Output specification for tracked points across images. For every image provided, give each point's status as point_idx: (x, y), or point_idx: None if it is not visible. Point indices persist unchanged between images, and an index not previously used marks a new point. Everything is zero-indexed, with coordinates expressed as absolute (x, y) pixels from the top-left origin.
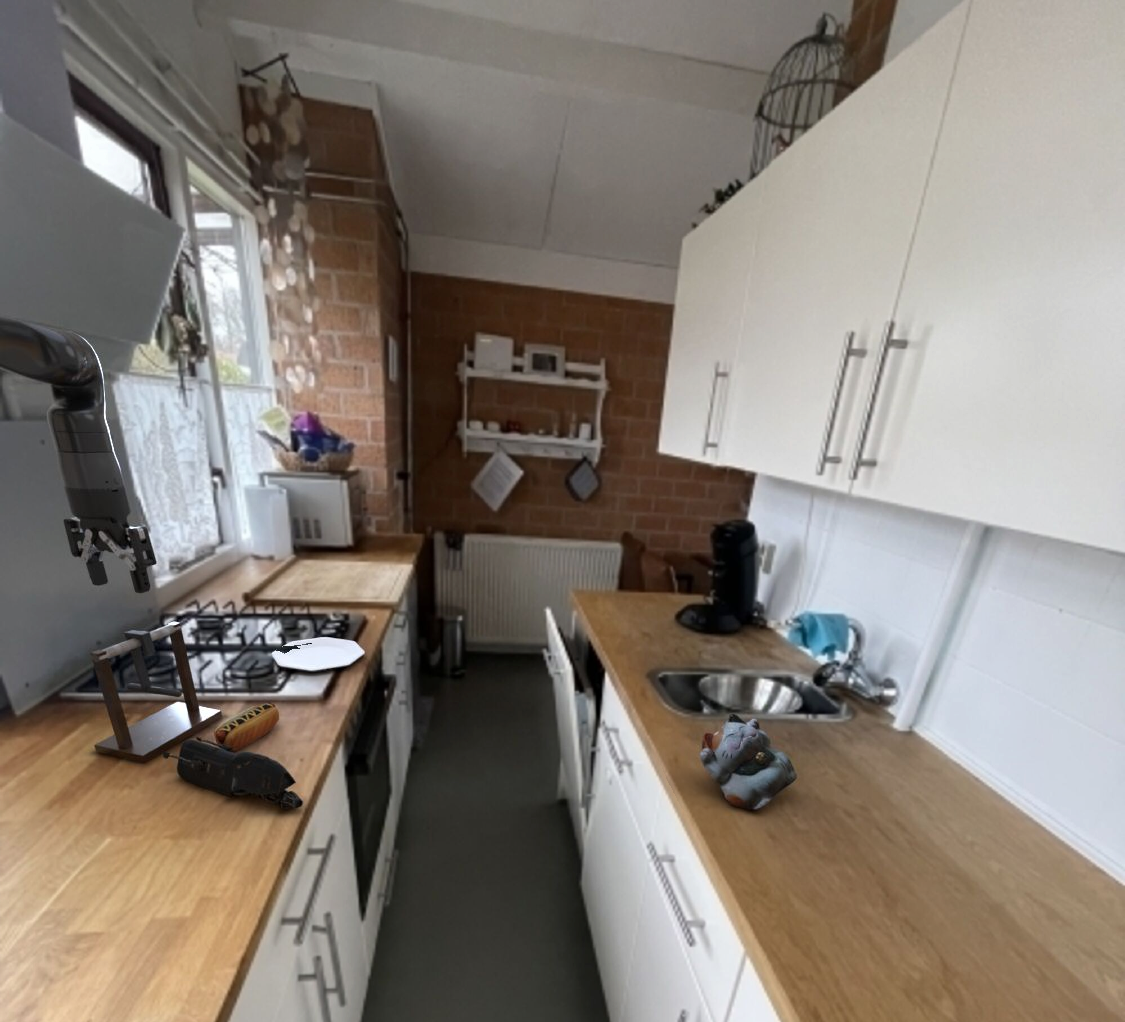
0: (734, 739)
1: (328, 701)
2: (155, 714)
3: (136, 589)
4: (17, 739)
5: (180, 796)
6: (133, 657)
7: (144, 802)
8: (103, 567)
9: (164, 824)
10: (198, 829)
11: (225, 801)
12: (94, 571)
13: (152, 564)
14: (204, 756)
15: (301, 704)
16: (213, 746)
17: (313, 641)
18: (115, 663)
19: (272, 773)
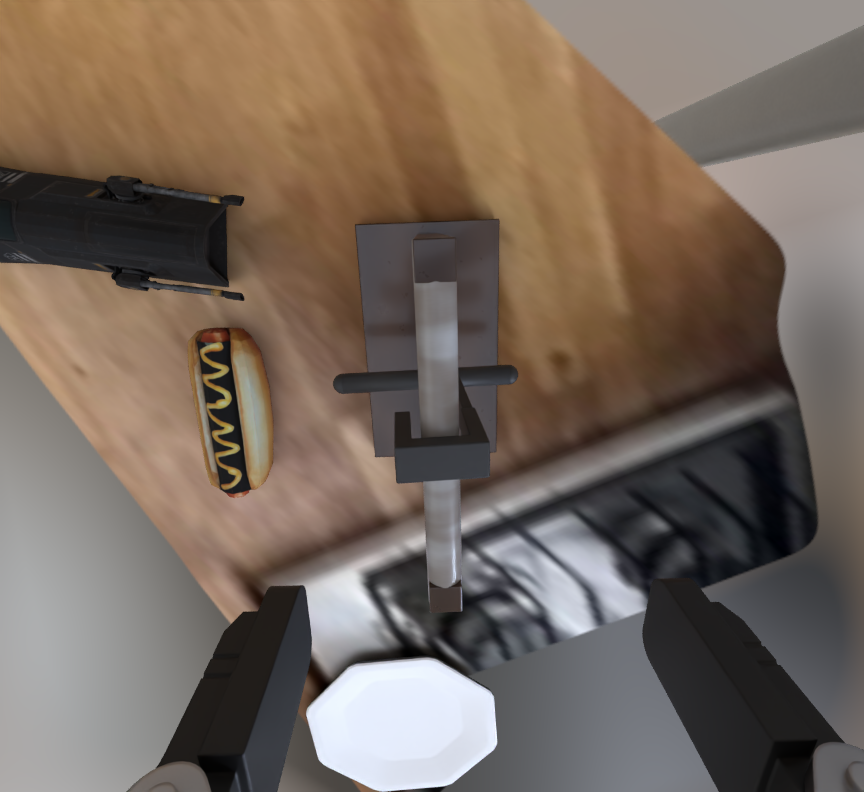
0: None
1: (238, 582)
2: (491, 387)
3: (273, 599)
4: (712, 193)
5: (167, 142)
6: (462, 401)
7: (213, 87)
8: (705, 756)
9: (93, 29)
10: (12, 44)
11: (66, 166)
12: (714, 677)
13: None
14: (114, 212)
15: (276, 553)
16: (108, 244)
17: (457, 763)
18: (789, 549)
19: None
